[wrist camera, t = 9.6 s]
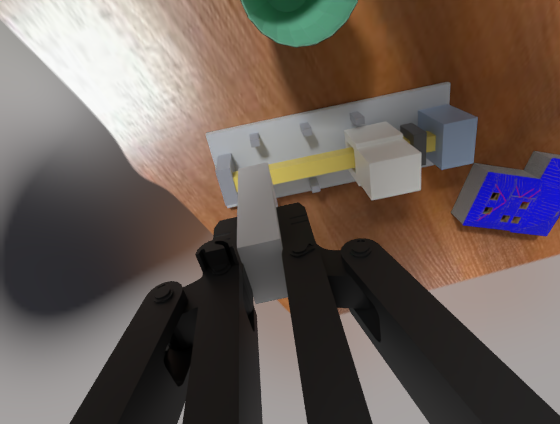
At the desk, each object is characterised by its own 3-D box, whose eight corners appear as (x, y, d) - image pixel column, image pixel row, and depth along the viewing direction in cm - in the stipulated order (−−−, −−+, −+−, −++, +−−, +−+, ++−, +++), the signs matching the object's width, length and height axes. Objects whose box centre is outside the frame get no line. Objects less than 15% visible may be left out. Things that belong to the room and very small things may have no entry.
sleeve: (347, 169, 44) (371, 204, 35) (343, 130, 41) (369, 158, 33) (387, 160, 44) (420, 194, 35) (385, 121, 41) (421, 147, 33)
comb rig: (227, 205, 47) (225, 233, 41) (206, 132, 42) (200, 152, 36) (443, 160, 46) (473, 182, 40) (447, 81, 41) (482, 93, 35)
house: (537, 224, 54) (565, 244, 49) (448, 213, 51) (468, 233, 46) (578, 155, 48) (614, 170, 44) (481, 140, 46) (508, 154, 41)
